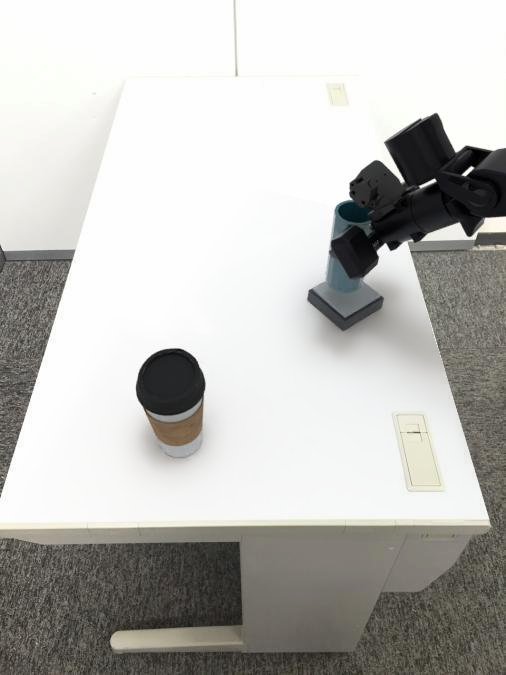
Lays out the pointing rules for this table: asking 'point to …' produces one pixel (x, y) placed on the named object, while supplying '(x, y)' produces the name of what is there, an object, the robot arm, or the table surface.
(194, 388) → the coffee cup
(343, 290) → the tumbler
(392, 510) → the table surface
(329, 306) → the scale
